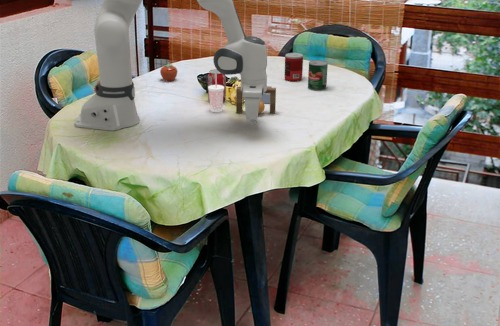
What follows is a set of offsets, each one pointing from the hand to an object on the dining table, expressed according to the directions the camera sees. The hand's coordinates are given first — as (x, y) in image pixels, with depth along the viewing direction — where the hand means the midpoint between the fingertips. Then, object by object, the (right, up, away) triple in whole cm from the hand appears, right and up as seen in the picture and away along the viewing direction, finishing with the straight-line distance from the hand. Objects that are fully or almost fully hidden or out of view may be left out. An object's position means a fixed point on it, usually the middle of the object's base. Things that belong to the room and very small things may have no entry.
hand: (253, 123), depth 216 cm
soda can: (-14, +11, +28) cm, 33 cm away
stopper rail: (+3, +15, +39) cm, 42 cm away
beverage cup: (-14, +6, +18) cm, 23 cm away
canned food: (+18, +23, +57) cm, 64 cm away
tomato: (-36, +22, +54) cm, 69 cm away
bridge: (+1, +5, +16) cm, 17 cm away
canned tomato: (+27, +18, +45) cm, 55 cm away
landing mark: (+2, +12, +31) cm, 33 cm away
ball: (+2, +7, +13) cm, 15 cm away
